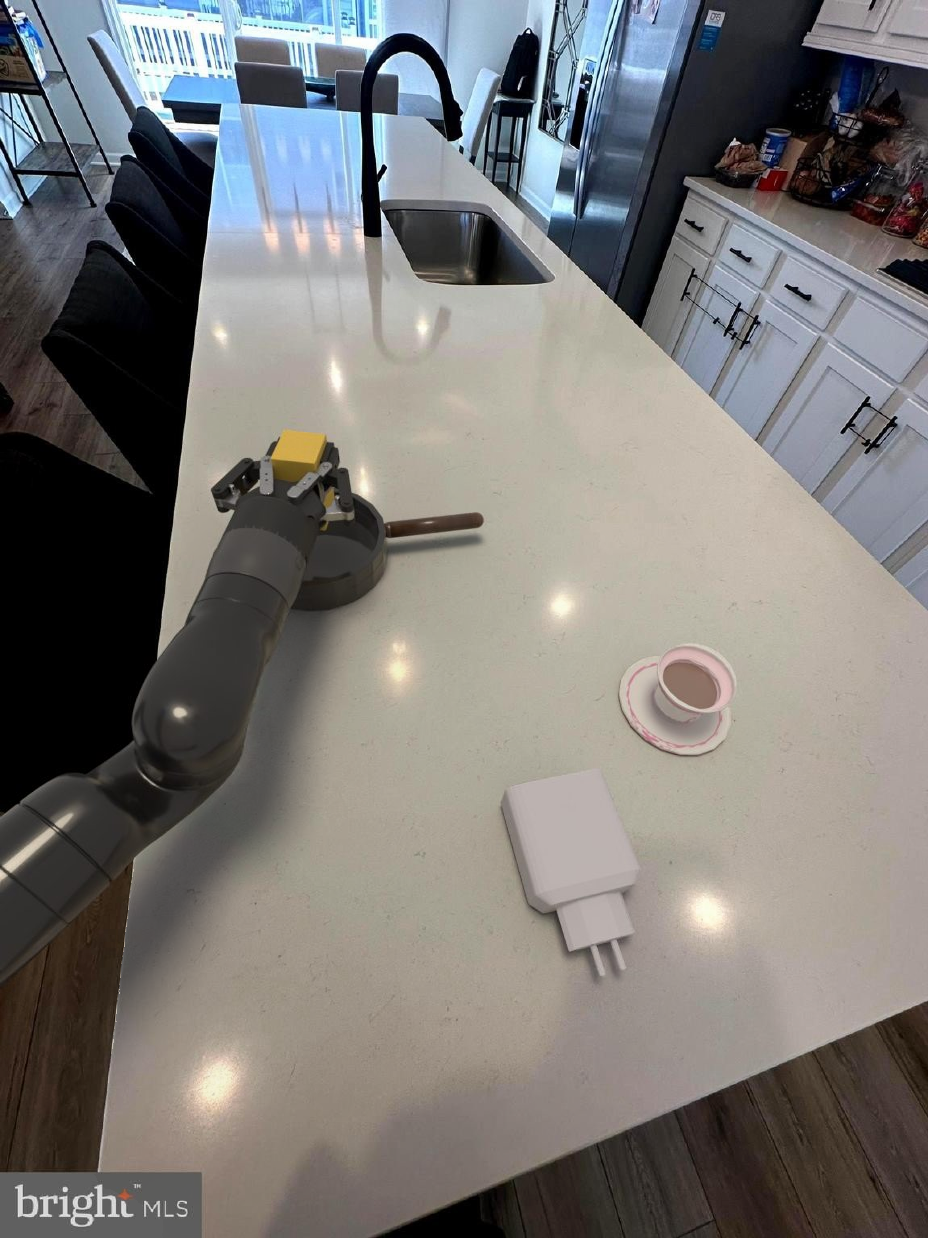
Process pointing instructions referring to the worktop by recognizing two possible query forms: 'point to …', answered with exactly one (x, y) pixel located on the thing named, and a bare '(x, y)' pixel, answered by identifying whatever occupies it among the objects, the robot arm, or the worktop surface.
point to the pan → (344, 560)
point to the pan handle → (433, 525)
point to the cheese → (299, 458)
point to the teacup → (680, 698)
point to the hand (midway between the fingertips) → (308, 447)
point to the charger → (574, 857)
